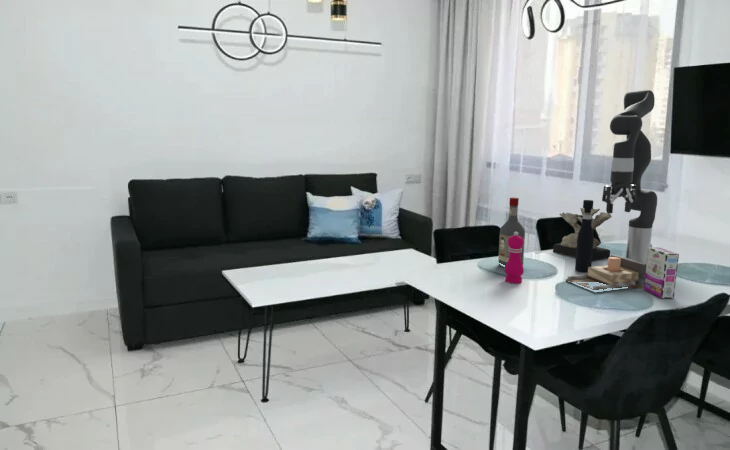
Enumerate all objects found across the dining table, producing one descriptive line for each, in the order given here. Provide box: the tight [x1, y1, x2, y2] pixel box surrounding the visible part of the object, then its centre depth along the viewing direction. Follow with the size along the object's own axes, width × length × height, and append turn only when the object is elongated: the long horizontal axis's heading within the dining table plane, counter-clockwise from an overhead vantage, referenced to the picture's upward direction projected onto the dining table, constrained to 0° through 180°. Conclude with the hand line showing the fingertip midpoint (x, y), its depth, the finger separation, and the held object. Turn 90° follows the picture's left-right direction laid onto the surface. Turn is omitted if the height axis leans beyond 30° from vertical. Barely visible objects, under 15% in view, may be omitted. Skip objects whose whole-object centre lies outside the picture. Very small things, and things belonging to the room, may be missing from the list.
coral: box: [552, 207, 613, 262], centre depth 257 cm, size 25×20×22 cm
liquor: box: [498, 197, 526, 266], centre depth 232 cm, size 9×9×30 cm
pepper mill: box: [504, 232, 525, 284], centre depth 211 cm, size 7×7×20 cm
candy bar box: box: [643, 247, 680, 300], centre depth 195 cm, size 11×5×16 cm, turn 5°
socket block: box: [587, 264, 639, 285], centre depth 209 cm, size 13×13×4 cm
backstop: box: [565, 254, 647, 290], centre depth 208 cm, size 24×16×9 cm
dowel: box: [607, 256, 621, 272], centre depth 209 cm, size 4×4×8 cm
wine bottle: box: [574, 199, 595, 274], centre depth 225 cm, size 6×6×30 cm
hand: (618, 212), depth 205 cm, fingers open, 8 cm apart
